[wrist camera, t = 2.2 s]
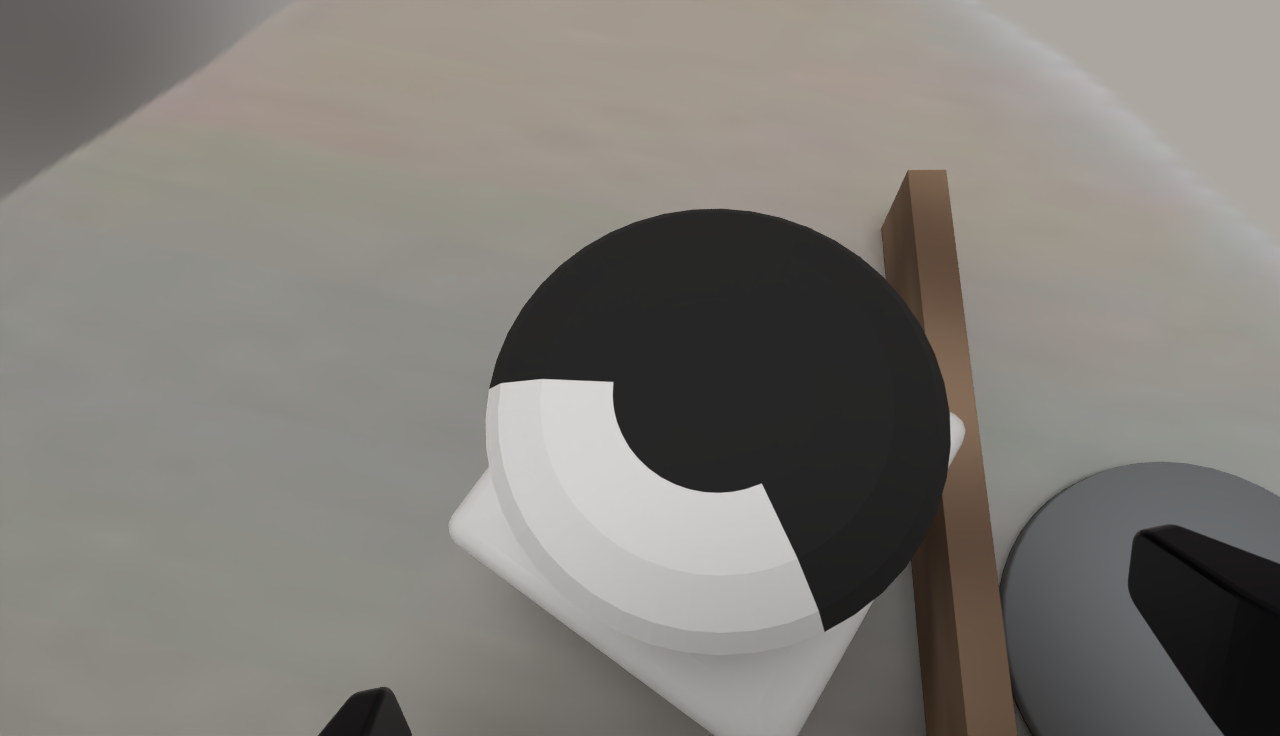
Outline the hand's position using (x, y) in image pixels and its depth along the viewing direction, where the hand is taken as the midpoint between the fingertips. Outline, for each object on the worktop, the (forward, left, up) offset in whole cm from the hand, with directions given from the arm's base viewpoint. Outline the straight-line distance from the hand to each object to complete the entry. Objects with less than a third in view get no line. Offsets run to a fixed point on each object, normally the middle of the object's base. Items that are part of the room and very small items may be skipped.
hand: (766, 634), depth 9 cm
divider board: (0, -6, -11) cm, 13 cm away
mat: (-4, -10, -11) cm, 16 cm away
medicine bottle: (+3, 0, -11) cm, 12 cm away
